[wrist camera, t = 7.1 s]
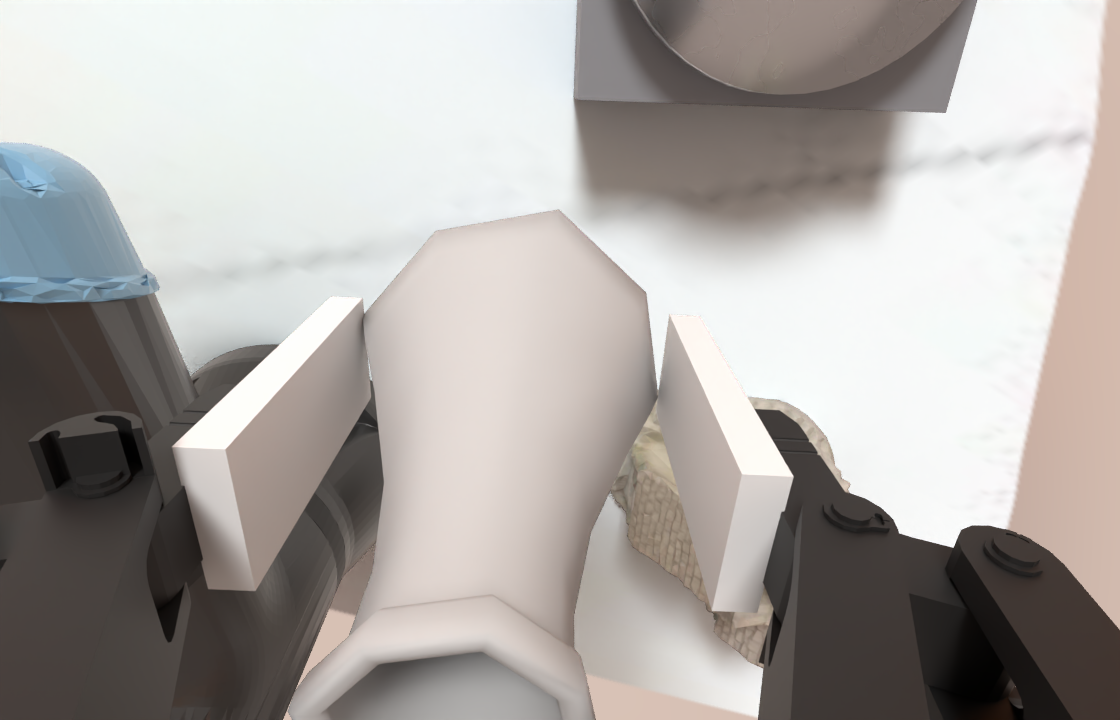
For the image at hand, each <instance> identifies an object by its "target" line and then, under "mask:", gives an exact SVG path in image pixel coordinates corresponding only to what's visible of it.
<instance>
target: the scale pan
mask: <svg viewBox="0 0 1120 720" xmlns="http://www.w3.org/2000/svg"><path fill="white" fill-rule="evenodd" d="M962 1H963V0H632V2H633V4H634V6H635V8H636V9H637V11H638V12H639V14H640V15H641V17H642V18H643V20H644V21H645V23H646V24H647V26H648V27H649V29H650V30H651V31H652V32H653V33H654V35H655V36H656V37H657V38H658V39H659V40H660V41H661V43H662V44H663V45H664V46H665V47H666V48H667V49H668V50H669V51H670V52H672V53H673V54H674V55H675V56H676V57H677V58H679V59H680V60H681V61H682V62H683V63H685V64H686V65H688V66H689V67H691V68H692V69H694V70H696V71H697V72H699V73H700V74H702V75H704V76H705V77H708V78H710V79H712V80H715V81H717V82H719V83H721V84H724V85H726V86H730V87H733V88H737V89H741V90H745V91H749V92H757V93H767V94H778V95H784V94H806V93H812V92H818V91H823V90H829V89H833V88H836V87H839V86H842V85H845V84H848V83H852V82H855V81H857V80H859V79H861V78H863V77H866V76H868V75H870V74H872V73H874V72H877V71H879V70H881V69H882V68H884V67H885V66H887V65H889V64H890V63H892V62H894V61H895V60H897V59H899V58H900V57H902V56H904V55H905V54H906V53H908V52H909V51H910V50H911V49H913V48H914V47H915V46H917V45H918V44H919V43H920V42H922V41H923V40H924V39H926V38H927V37H928V36H929V35H930V34H931V33H932V32H933V31H934V30H935V29H936V28H938V27H939V26H940V25H941V24H942V23H943V22H944V21H945V20H946V19H947V18H948V17H949V16H950V15H951V14H952V13H953V11H954V10H955V9H956V8H957V7H958V6H959V4H960V3H961V2H962Z"/></svg>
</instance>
